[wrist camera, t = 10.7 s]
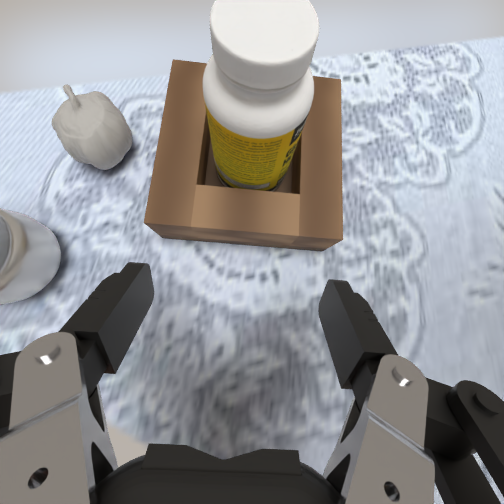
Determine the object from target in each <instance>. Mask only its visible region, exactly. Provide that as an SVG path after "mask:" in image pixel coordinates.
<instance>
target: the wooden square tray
mask: <svg viewBox="0 0 504 504" xmlns="http://www.w3.org/2000/svg"><path fill="white" fill-rule="evenodd" d="M206 65H207V64H206V63H199V62H189V61H181V60H173V61H172V67H171V72H170V78H169V84H168V89H167V95H166V100H165V106H164V112H163V117H162V123H161V129H160V134H159V140H158V146H157V151H156V157H155V162H154V168H153V174H152V179H151V185H150V191H149V196H148V202H147V207H146V213H145V219H144V223H145V224H146V225H147V226H149V227H150V228H151V229H152V230H153V231H155V232H156V233H157V234H158V235H160V236H161V237H162V238H169V239H181V240H193V241H205V242H218V243H230V244H242V245H254V246H266V247H278V248H290V249H302V250H314V251H324V250H326V249H327V248H329V247H331V246H333V245H334V244H336V243H338V242H340V241H342V240H343V206H342V127H341V79H333V78H325V77H317V76H313V81H314V96H313V101H312V105H311V108H310V111H309V114H308V116H307V119H306V122H305V125H304V127H303V130H302V133H301V135H300V138H299V141H298V143H297V146H296V149H295V151H294V154H293V156H292V159H291V162H290V165H289V167H288V170H287V173H286V175H285V177H284V179H283V181H282V183H281V184H280V186H279V187H278V188H277V189H276V190H275V191H273V192H271V191H260V190H249V189H239V188H228V187H225V186H224V185H223V184H222V182H221V181H220V179H219V177H218V174H217V171H216V166H215V161H214V155H213V149H212V143H211V137H210V131H209V125H208V119H207V114H206V108H205V102H204V96H203V75H204V71H205V68H206Z"/></svg>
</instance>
